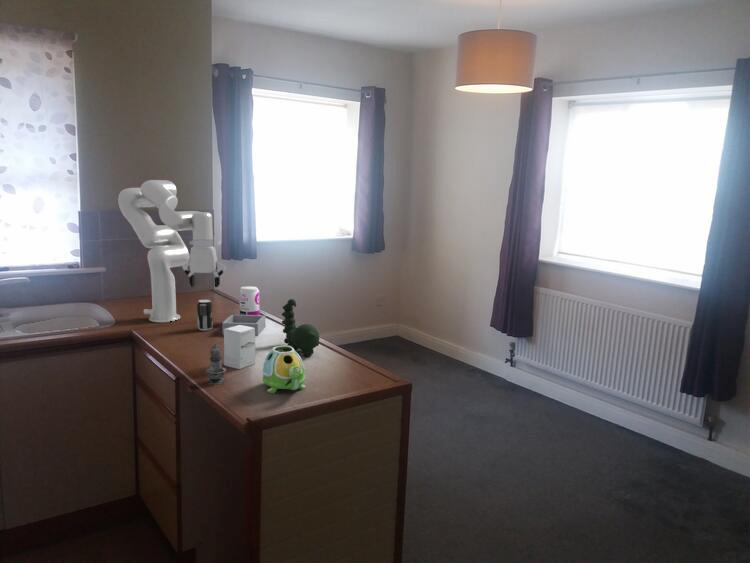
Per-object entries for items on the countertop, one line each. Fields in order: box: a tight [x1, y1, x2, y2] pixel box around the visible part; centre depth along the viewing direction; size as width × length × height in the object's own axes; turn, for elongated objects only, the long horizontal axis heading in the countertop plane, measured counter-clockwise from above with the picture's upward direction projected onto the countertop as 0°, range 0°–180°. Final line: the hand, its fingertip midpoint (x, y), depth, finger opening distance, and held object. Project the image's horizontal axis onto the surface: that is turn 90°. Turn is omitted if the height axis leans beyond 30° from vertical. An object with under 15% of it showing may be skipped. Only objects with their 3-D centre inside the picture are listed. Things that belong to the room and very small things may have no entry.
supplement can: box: [239, 285, 260, 315], centre depth 247 cm, size 8×8×15 cm
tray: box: [221, 314, 267, 337], centre depth 234 cm, size 14×14×5 cm
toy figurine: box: [281, 298, 320, 357], centre depth 208 cm, size 9×19×25 cm
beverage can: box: [196, 299, 214, 332], centre depth 234 cm, size 6×6×12 cm
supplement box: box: [223, 325, 256, 370], centre depth 192 cm, size 7×7×13 cm
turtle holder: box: [262, 345, 306, 394], centre depth 171 cm, size 12×18×12 cm
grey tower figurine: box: [205, 343, 227, 385], centre depth 176 cm, size 6×6×12 cm
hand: (204, 286), depth 231 cm, fingers open, 9 cm apart
